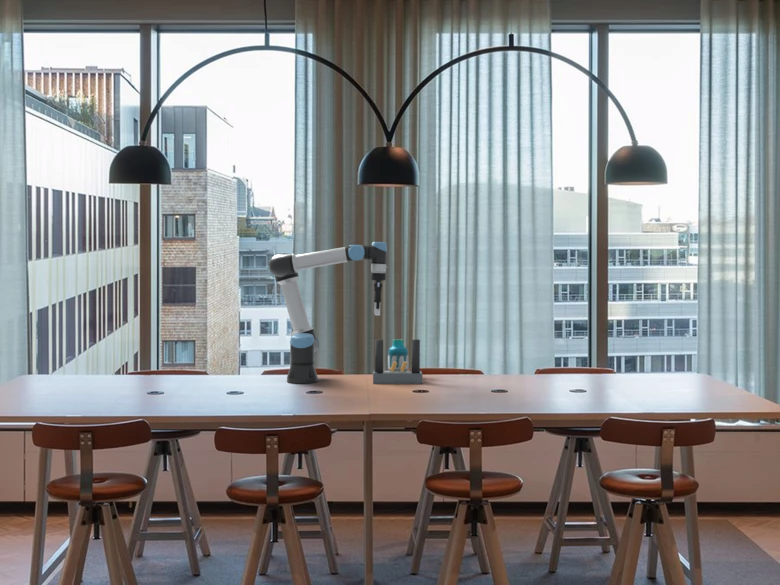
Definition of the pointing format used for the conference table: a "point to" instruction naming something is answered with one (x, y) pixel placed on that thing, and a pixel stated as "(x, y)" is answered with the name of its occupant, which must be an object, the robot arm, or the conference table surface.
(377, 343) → the post left
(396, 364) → the paddle
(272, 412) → the conference table surface
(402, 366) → the paddle
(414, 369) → the post right
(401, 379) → the gray rectangular base
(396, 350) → the vase
